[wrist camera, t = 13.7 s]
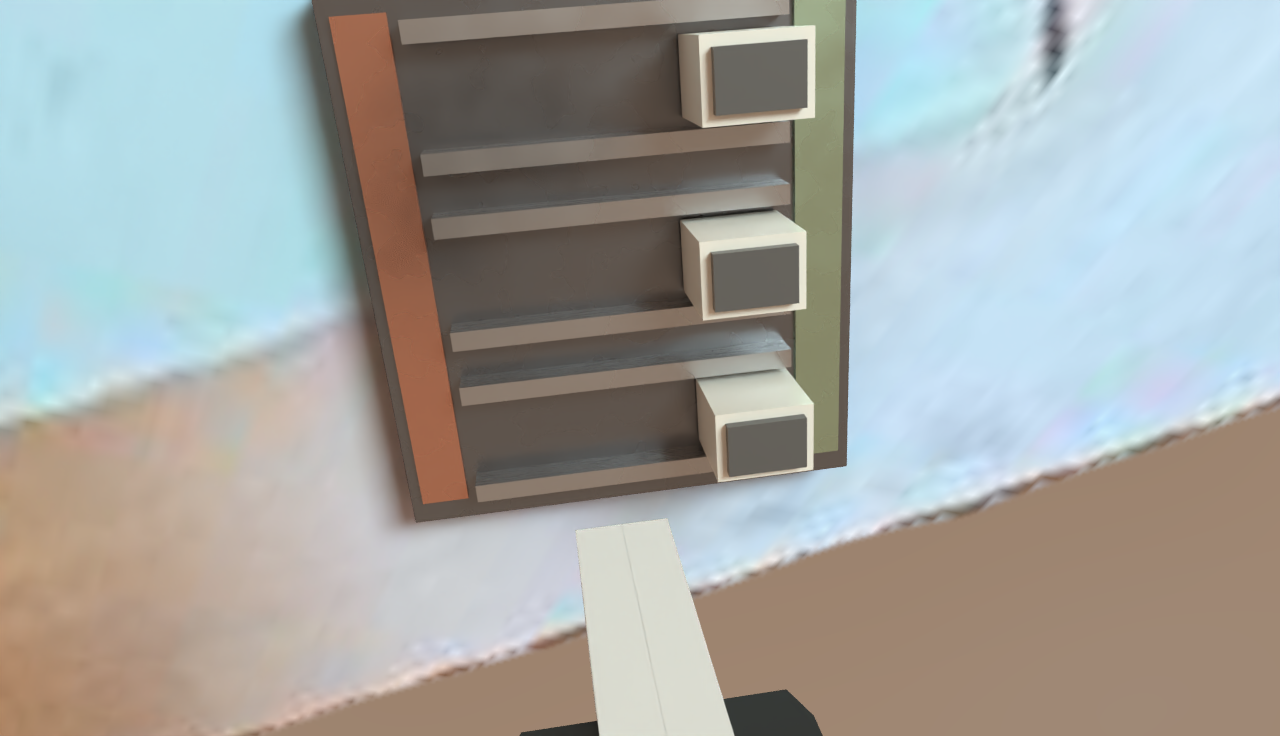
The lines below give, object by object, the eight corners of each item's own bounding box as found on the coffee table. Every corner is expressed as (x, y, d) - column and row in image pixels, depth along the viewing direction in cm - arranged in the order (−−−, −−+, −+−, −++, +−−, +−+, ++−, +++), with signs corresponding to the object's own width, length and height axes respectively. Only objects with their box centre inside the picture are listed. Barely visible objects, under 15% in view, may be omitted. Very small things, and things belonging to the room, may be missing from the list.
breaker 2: (683, 290, 36) (705, 324, 32) (679, 219, 35) (701, 245, 31) (776, 280, 36) (809, 312, 32) (775, 210, 35) (809, 233, 31)
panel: (420, 500, 40) (413, 537, 37) (321, -11, 32) (300, -15, 29) (832, 446, 42) (855, 478, 39) (838, -48, 34) (869, -56, 31)
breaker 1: (681, 117, 33) (705, 129, 29) (677, 34, 32) (701, 34, 28) (782, 107, 33) (818, 118, 29) (781, 25, 32) (819, 25, 28)
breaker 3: (698, 438, 38) (720, 487, 34) (695, 377, 37) (717, 420, 33) (785, 428, 39) (816, 474, 35) (784, 367, 38) (817, 407, 34)
